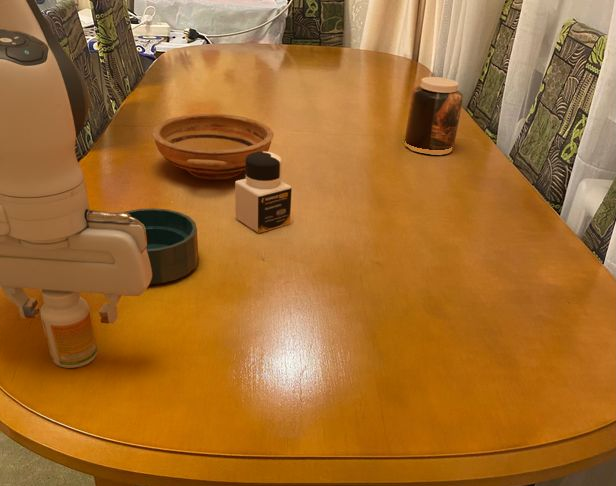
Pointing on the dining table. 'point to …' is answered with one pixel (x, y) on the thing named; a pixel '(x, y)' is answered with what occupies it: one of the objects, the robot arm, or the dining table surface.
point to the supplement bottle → (68, 328)
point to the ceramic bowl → (211, 143)
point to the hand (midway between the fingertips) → (70, 318)
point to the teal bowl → (169, 243)
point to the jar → (434, 114)
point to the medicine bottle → (263, 193)
